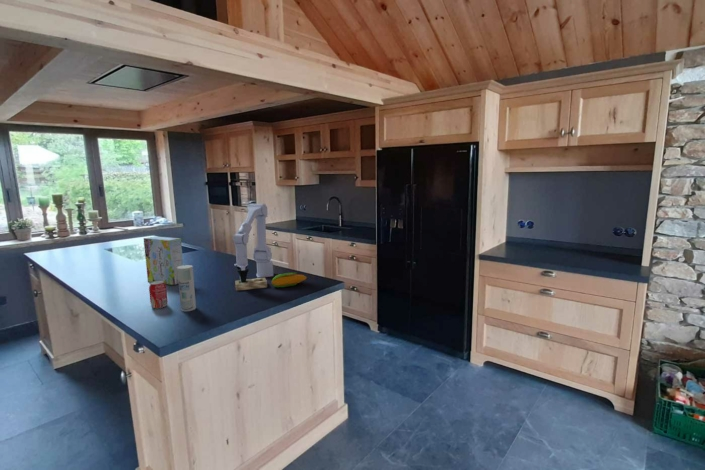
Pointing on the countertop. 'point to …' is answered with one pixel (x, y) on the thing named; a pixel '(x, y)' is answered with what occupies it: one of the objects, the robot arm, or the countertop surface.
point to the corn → (287, 280)
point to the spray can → (186, 287)
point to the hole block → (251, 284)
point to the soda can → (158, 294)
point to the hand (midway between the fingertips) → (243, 280)
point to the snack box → (163, 259)
